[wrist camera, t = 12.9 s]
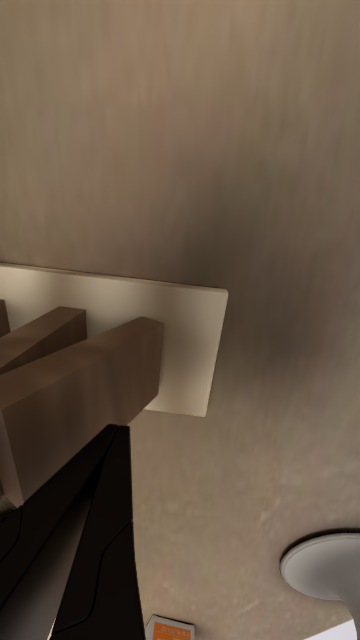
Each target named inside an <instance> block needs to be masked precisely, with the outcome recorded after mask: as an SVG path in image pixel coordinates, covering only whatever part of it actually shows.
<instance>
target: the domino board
mask: <svg viewBox="0 0 360 640" xmlns="http://www.w3.org/2000/svg"><path fill="white" fill-rule="evenodd" d="M228 294H229V293H228V292H227V290H226V289H219V288H211V287H202V286H194V285H185V284H177V283H168V282H160V281H152V280H143V279H135V278H126V277H118V276H109V275H101V274H93V273H84V272H76V271H67V270H59V269H51V268H42V267H34V266H25V265H17V264H8V263H0V299H4V300H5V305H6V310H7V315H8V321H9V326H10V331H11V332H12V331H14V330H16V329H18V328H19V327H21V326H23V325H25V324H27V323H29V322H31V321H33V320H35V319H36V318H38V317H40V316H42V315H44V314H46V313H48V312H50V311H51V310H53V309H55V308H57V307H59V306H62V307H70V308H78V309H86V325H87V339H88V338H90V337H93V336H95V335H98V334H100V333H102V332H105V331H107V330H110V329H112V328H114V327H117V326H119V325H122V324H124V323H126V322H129V321H131V320H134V319H136V318H138V317H141V316H143V317H146V318H149V319H152V320H155V321H158V322H161V323H164V333H163V345H162V357H161V368H160V380H159V392H158V395H157V396H156V397H155V398H154V399H153V400H152V401H151V402H150V403H149V404H148V405H147V406H146V407H145V408H144V409H147V410H154V411H162V412H169V413H177V414H184V415H192V416H199V417H205V415H206V410H207V405H208V399H209V394H210V389H211V383H212V378H213V373H214V368H215V362H216V357H217V352H218V347H219V341H220V336H221V331H222V326H223V320H224V315H225V310H226V305H227V299H228Z"/></svg>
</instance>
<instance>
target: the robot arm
mask: <svg viewBox="0 0 360 640" xmlns="http://www.w3.org/2000/svg"><path fill="white" fill-rule="evenodd" d="M57 612H58V613H57ZM56 615H57V616H56ZM55 618H56V619H55ZM54 620H55V623H54ZM53 623H54V626H53V629H52V633H51V635H52V636H51V637H50V639H49V640H146V636H145V629H144V622H143V615H142V608H141V601H140V594H139V587H138V580H137V571H136V563H135V550H134V532H133V505H132V474H131V444H130V427H129V426H125V425H120V426H119V425H117V424H108V425H107V426H105V427H104V428H103V429H102V430H101V431H100V432H99V433H98V434H97V435H96V436H95V437H94V438H93V439H91V440H90V441H89V442H88V443H87V444H86V445H85V446H84V447H83V448H82V449H81V450H80V451H79V452H77V453H76V454H75V455H74V456H73V457H72V458H71V459H70V460H69V461H68V462H67V463H66V464H65V465H63V466H62V467H61V468H60V469H59V470H58V471H57V472H56V473H55V474H54V475H53V476H52V477H51V478H50V479H48V480H47V481H46V482H45V483H44V484H43V485H42V486H41V487H40V488H39V489H38V490H37V491H36V492H34V493H33V494H32V495H31V496H30V497H29V498H28V499H27V500H26V501H25V502H24V503H23V505H20V506H19V507H18V508H17V509H16V510H15V511H13V512H11V513H8V514H5V515H2V516H0V640H47V638H48V635H49V633H50V630H51V628H52V625H53Z"/></svg>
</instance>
